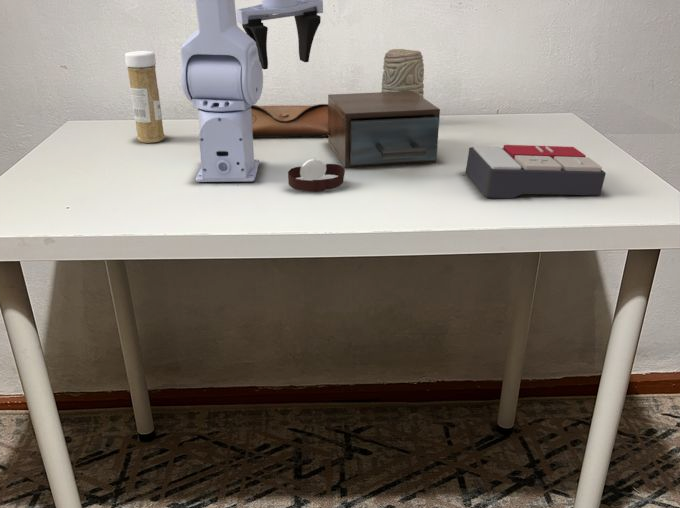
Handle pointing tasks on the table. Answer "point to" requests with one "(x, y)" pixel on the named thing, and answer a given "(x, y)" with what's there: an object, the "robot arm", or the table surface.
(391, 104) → the cabinet
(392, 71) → the carving
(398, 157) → the drawer
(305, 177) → the watch
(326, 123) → the sunglasses case
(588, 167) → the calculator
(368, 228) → the table surface
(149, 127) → the sprinkles bottle
